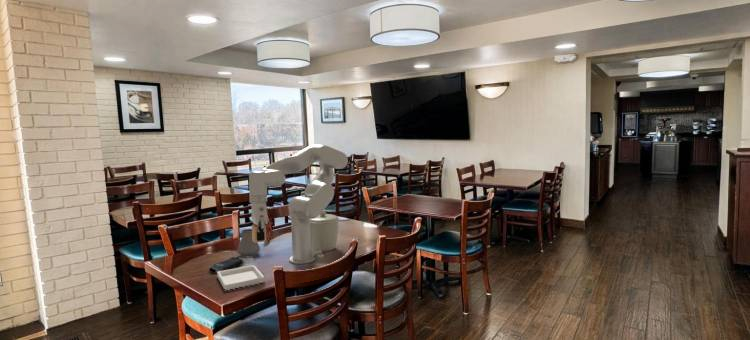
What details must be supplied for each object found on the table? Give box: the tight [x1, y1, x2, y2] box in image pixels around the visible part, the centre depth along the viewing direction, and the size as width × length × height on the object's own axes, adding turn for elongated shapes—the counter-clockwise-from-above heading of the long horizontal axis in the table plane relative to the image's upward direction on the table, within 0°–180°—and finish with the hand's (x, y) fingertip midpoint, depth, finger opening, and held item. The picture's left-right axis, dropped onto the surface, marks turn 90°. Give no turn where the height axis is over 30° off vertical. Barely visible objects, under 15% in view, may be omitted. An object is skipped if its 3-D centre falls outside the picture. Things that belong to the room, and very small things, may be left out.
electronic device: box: [208, 256, 245, 274], centre depth 189 cm, size 9×6×15 cm
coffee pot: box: [236, 220, 274, 258], centre depth 212 cm, size 21×12×15 cm, turn 143°
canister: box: [310, 209, 341, 253], centre depth 215 cm, size 18×18×21 cm
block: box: [251, 224, 267, 244], centre depth 180 cm, size 5×5×7 cm
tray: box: [216, 264, 266, 292], centre depth 173 cm, size 16×18×2 cm
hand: (259, 238), depth 180 cm, fingers closed on block, 5 cm apart
